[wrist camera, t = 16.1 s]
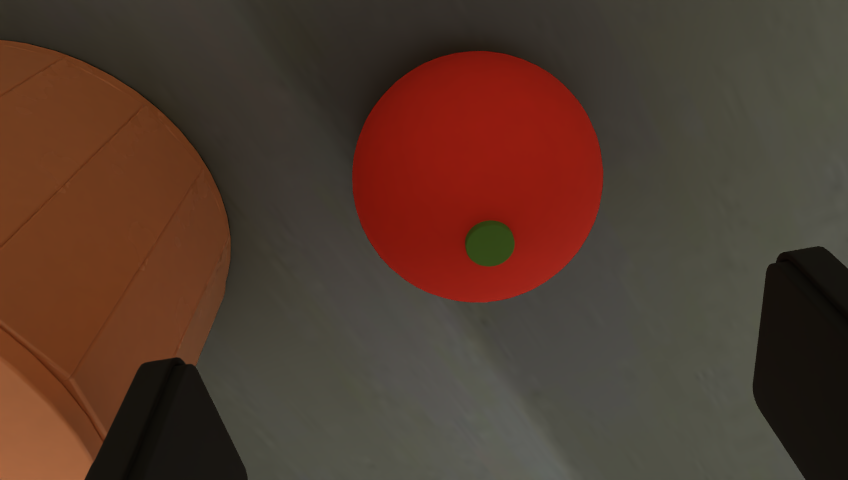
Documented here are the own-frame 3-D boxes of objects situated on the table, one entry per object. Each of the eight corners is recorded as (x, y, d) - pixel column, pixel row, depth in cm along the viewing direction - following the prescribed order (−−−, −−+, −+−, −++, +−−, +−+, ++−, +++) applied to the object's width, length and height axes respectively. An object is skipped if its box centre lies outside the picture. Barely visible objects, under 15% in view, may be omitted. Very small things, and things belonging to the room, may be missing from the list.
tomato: (336, 47, 17) (305, 136, 12) (562, 2, 17) (637, 75, 11) (384, 237, 20) (377, 377, 15) (576, 204, 20) (641, 336, 14)
